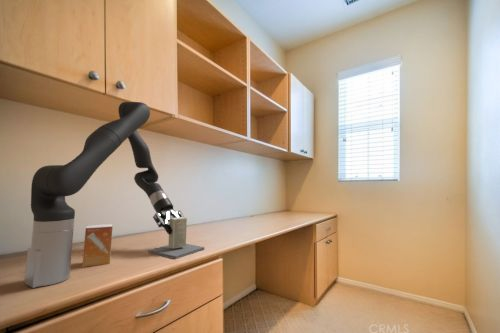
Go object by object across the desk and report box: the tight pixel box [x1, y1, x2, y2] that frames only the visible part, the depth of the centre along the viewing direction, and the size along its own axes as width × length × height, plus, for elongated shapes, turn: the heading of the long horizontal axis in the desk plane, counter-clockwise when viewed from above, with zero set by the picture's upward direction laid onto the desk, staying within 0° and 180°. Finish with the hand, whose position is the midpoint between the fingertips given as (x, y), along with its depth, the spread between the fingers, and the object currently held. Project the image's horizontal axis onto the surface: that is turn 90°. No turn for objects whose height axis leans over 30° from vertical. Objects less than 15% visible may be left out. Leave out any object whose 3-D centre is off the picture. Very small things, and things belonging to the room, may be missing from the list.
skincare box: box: [167, 216, 188, 249], centre depth 98 cm, size 6×4×12 cm
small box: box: [82, 223, 113, 268], centre depth 82 cm, size 8×6×13 cm
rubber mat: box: [148, 243, 205, 260], centre depth 98 cm, size 16×16×1 cm
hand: (177, 231), depth 98 cm, fingers closed on skincare box, 7 cm apart
